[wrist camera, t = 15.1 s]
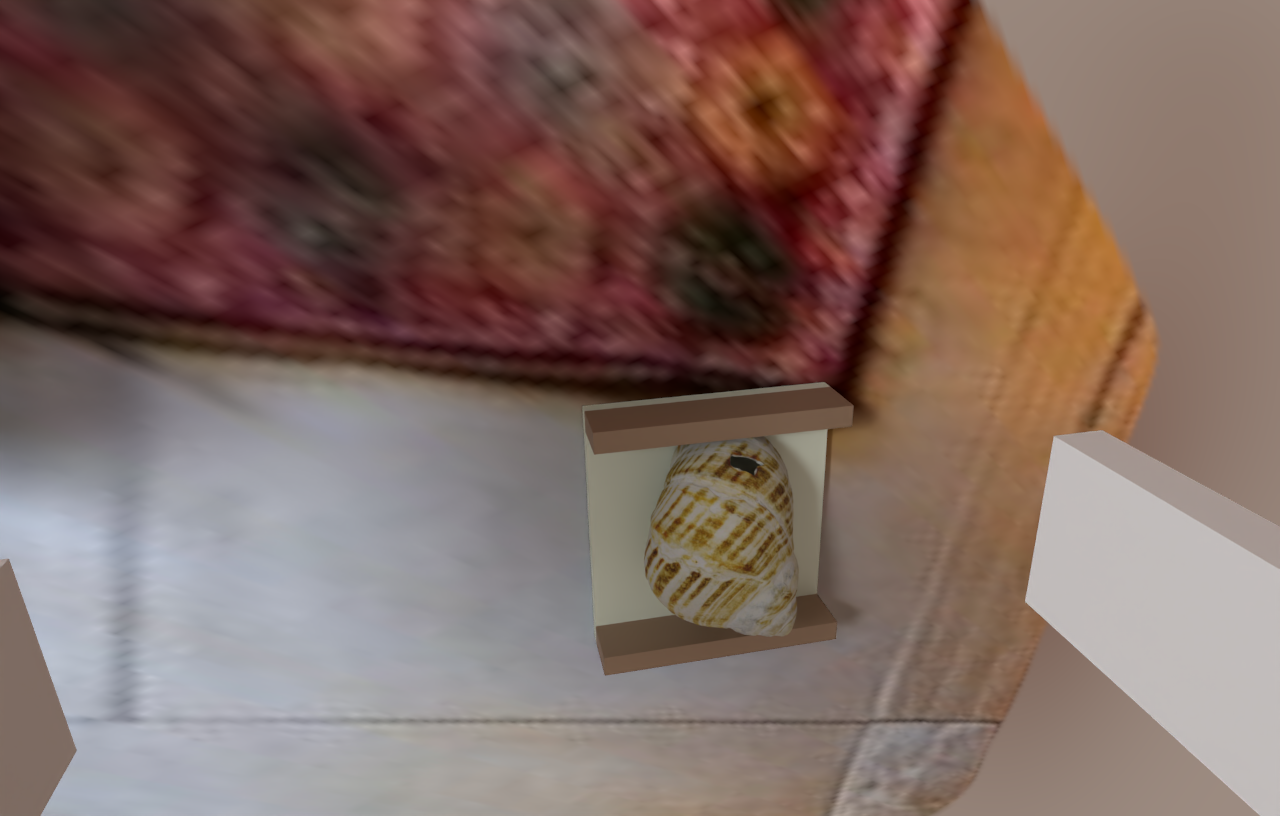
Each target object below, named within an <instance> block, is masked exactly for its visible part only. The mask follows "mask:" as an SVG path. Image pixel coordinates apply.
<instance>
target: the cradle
mask: <svg viewBox="0 0 1280 816" xmlns="http://www.w3.org/2000/svg"><path fill="white" fill-rule="evenodd" d="M853 407H854V406H853V405H852V404H851V403H850V402H849V401H847V400H846V399H845V398H844V397H842V396H841V395H840V394H839V393H837V392H836V391H835V390H834V389H832V388H831V387H830V386H829V385H828V384H826V383H825V382H820V383H810V384H799V385H789V386H779V387H769V388H759V389H749V390H739V391H728V392H718V393H708V394H698V395H688V396H678V397H668V398H657V399H647V400H637V401H627V402H617V403H607V404H597V405H586V406H582V411H583V430H584V449H585V467H586V486H587V505H588V523H589V542H590V561H591V579H592V598H593V617H594V635H595V639H596V643H597V647H598V651H599V654H600V658H601V662H602V666H603V670H604V674H605V675H611V674H618V673H624V672H630V671H637V670H643V669H649V668H656V667H662V666H668V665H674V664H681V663H687V662H693V661H700V660H706V659H712V658H719V657H725V656H731V655H737V654H744V653H750V652H756V651H763V650H769V649H775V648H782V647H788V646H794V645H800V644H807V643H813V642H819V641H826V640H832V639H836V630H837V621H836V620H835V618H834V617H833V616H832V614H831V613H830V611H829V610H828V609H827V607H826V606H825V604H824V603H823V602H822V600H821V599H820V597H819V596H818V595H817V585H818V570H819V554H820V539H821V523H822V508H823V492H824V477H825V461H826V445H827V430H828V429H833V428H842V427H851V426H852V420H853ZM760 436H764V437H766V438H767V439H768V440H769V441H770V442H771V444H772V445H773V446H774V448H775V449H776V450H777V452H778V453H779V454H780V456H781V458H782V460H783V462H784V464H785V466H786V469H787V472H788V478H789V482H790V485H791V488H792V493H793V514H794V515H793V543H794V551H793V552H794V554H795V556H796V559H797V562H798V567H799V579H798V587H797V592H796V603H797V615H796V619H795V623H794V626H793V628H792V630H791V632H790V633H789V634H788V635H785V636H782V637H781V636H771V637H766V636H762V635H756V636H750V635H743V634H741V633H738V632H736V631H734V630H733V629H731V628H727V629H725V628H717V627H707V626H701V625H697V624H694V623H691V622H688V621H686V620H683V619H681V618H679V617H678V616H676V615H675V614H673V613H671V612H670V611H669V610H668V609H667V608H666V607H665V606H664V605H663V604H662V603H661V602H660V601H659V600H658V598H657V597H656V596H655V594H654V593H653V591H652V590H651V587H650V585H649V582H648V580H647V579H646V576H645V565H644V556H645V549H646V543H647V540H648V535H649V529H650V524H651V515H652V513H653V511H654V510H655V508H656V505H657V502H658V499H659V497H660V495H661V493H662V490H663V489H664V484H665V480H666V477H667V474H668V472H669V471H670V464H671V460H672V457H673V454H674V451H675V450H676V448H677V447H678V445H687V444H696V443H705V442H715V441H724V440H733V439H742V438H751V437H760ZM730 465H731V466H732V467H734V468H739V469H741V470H742V471H746V472H748V473H750V474H752V475H754V471H755V470H756V468H757V466H760V464H758V463H757V462H756V461H754V460H752V459H749V458H745V457H735V456H731V459H730Z"/></svg>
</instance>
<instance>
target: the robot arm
mask: <svg viewBox="0 0 1280 816" xmlns="http://www.w3.org/2000/svg"><path fill="white" fill-rule="evenodd" d="M1025 602H1026V603H1027V604H1028V605H1029V606H1030V607H1032V608H1033V609H1034V610H1035V611H1036V612H1037V613H1038V614H1039V615H1040V616H1041V617H1042V618H1044V619H1045V620H1046V621H1047V622H1048V623H1049V624H1050V625H1051V626H1052V627H1053V628H1055V629H1056V630H1057V631H1058V632H1059V633H1060V634H1061V635H1062V636H1063V637H1065V638H1066V639H1067V640H1068V641H1069V642H1070V643H1071V644H1072V645H1073V646H1074V647H1075V648H1077V649H1078V650H1079V651H1080V652H1081V653H1082V654H1083V655H1084V656H1086V658H1088V659H1089V660H1090V661H1091V662H1092V663H1093V664H1094V665H1095V666H1097V668H1098V669H1100V670H1101V671H1102V672H1103V673H1104V674H1105V675H1106V676H1107V677H1108V678H1110V679H1111V680H1112V681H1113V682H1114V683H1115V684H1116V685H1117V686H1118V687H1119V688H1120V689H1122V690H1123V691H1124V692H1125V693H1126V694H1127V695H1128V696H1129V697H1130V698H1131V699H1133V700H1134V701H1135V702H1136V703H1137V704H1138V705H1139V706H1140V707H1141V708H1142V709H1144V710H1145V711H1146V712H1147V713H1148V714H1149V715H1150V716H1151V717H1152V718H1153V719H1155V720H1156V721H1157V722H1158V723H1159V724H1160V725H1161V726H1162V727H1163V728H1164V729H1166V730H1167V731H1168V732H1169V733H1170V734H1171V735H1172V736H1174V738H1175V739H1176V740H1178V741H1179V742H1180V743H1181V744H1182V745H1183V746H1184V747H1185V748H1186V749H1187V750H1189V751H1190V752H1191V753H1192V754H1193V755H1194V756H1195V757H1196V758H1197V759H1199V760H1200V761H1201V762H1202V763H1203V764H1204V765H1205V766H1206V767H1207V768H1208V769H1210V770H1211V771H1212V772H1213V773H1214V774H1215V775H1216V776H1217V777H1218V778H1219V779H1220V780H1222V781H1223V782H1224V783H1225V784H1226V785H1227V786H1228V787H1229V788H1230V789H1231V790H1232V791H1234V792H1235V793H1236V794H1237V795H1238V796H1239V797H1240V798H1241V799H1242V800H1243V801H1245V802H1246V803H1247V804H1248V805H1249V806H1250V807H1251V808H1252V809H1253V810H1255V811H1256V812H1257V813H1258V814H1259V815H1260V816H1280V526H1278V525H1277V524H1275V523H1273V522H1271V521H1269V520H1267V519H1265V518H1263V517H1261V516H1260V515H1258V514H1256V513H1254V512H1252V511H1250V510H1249V509H1247V508H1245V507H1243V506H1241V505H1239V504H1238V503H1236V502H1234V501H1232V500H1230V499H1228V498H1226V497H1225V496H1223V495H1221V494H1219V493H1217V492H1215V491H1213V490H1212V489H1210V488H1208V487H1206V486H1204V485H1202V484H1201V483H1199V482H1197V481H1195V480H1193V479H1191V478H1189V477H1187V476H1186V475H1184V474H1182V473H1180V472H1178V471H1176V470H1175V469H1173V468H1171V467H1169V466H1167V465H1165V464H1163V463H1162V462H1160V461H1158V460H1156V459H1154V458H1152V457H1150V456H1149V455H1147V454H1145V453H1143V452H1141V451H1139V450H1137V449H1136V448H1134V447H1132V446H1130V445H1128V444H1126V443H1125V442H1123V441H1121V440H1119V439H1117V438H1115V437H1113V436H1112V435H1110V434H1108V433H1106V432H1104V431H1102V430H1101V431H1092V432H1084V433H1075V434H1067V435H1058V436H1054V439H1053V445H1052V450H1051V456H1050V462H1049V468H1048V473H1047V479H1046V485H1045V491H1044V496H1043V502H1042V508H1041V514H1040V519H1039V525H1038V531H1037V536H1036V542H1035V548H1034V554H1033V559H1032V565H1031V571H1030V577H1029V582H1028V588H1027V594H1026V600H1025ZM76 751H77V750H76V747H75V744H74V742H73V739H72V736H71V733H70V730H69V727H68V725H67V722H66V719H65V716H64V713H63V711H62V708H61V705H60V702H59V699H58V696H57V694H56V691H55V688H54V685H53V682H52V679H51V677H50V674H49V671H48V668H47V665H46V662H45V660H44V657H43V654H42V651H41V648H40V645H39V643H38V640H37V637H36V634H35V631H34V628H33V626H32V623H31V620H30V617H29V614H28V612H27V609H26V606H25V603H24V600H23V597H22V595H21V592H20V589H19V586H18V583H17V580H16V578H15V575H14V572H13V569H12V566H11V563H10V561H9V559H2V560H0V816H40V815H41V813H42V812H43V810H44V808H45V806H46V805H47V803H48V801H49V799H50V797H51V796H52V794H53V792H54V790H55V788H56V787H57V785H58V783H59V781H60V779H61V778H62V776H63V774H64V772H65V771H66V769H67V767H68V765H69V763H70V762H71V760H72V758H73V756H74V754H75V753H76Z"/></svg>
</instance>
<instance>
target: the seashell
mask: <svg viewBox="0 0 1280 816" xmlns="http://www.w3.org/2000/svg"><path fill="white" fill-rule="evenodd" d="M731 456H735V457H745V458H749V459H752V460H754V461H756V462H757V463H758V464H760V466H757V468H756V470H755V471H754V475H752V474H750V473H748V472H746V471H742V470H741V469H739V468H734V467H732V466H731V465H730V459H731ZM793 515H794V514H793V493H792V488H791V485H790V482H789V478H788V472H787V469H786V466H785V464H784V462H783V460H782V458H781V456H780V454H779V453H778V452H777V450H776V449H775V448H774V446H773V445H772V444H771V442H770V441H769V440H768V439H767V438H766V437H764V436H760V437H751V438H742V439H733V440H724V441H715V442H705V443H696V444H687V445H678V447H677V448H676V450H675V451H674V454H673V457H672V460H671V464H670V471H669V472H668V474H667V477H666V480H665V484H664V489H663V490H662V493H661V495H660V497H659V499H658V502H657V505H656V508H655V510H654V511H653V513H652V515H651V524H650V529H649V535H648V540H647V543H646V549H645V556H644V565H645V576H646V579H647V580H648V582H649V585H650V587H651V590H652V591H653V593H654V594H655V596H656V597H657V598H658V600H659V601H660V602H661V603H662V604H663V605H664V606H665V607H666V608H667V609H668V610H669V611H670V612H671V613H673V614H675V615H676V616H678V617H679V618H681V619H683V620H686V621H688V622H691V623H694V624H697V625H701V626H707V627H717V628H725V629H727V628H731V629H733V630H734V631H736V632H738V633H741V634H743V635H750V636H756V635H762V636H766V637H771V636H781V637H782V636H785V635H788V634H789V633H790V632H791V630H792V628H793V626H794V623H795V619H796V615H797V603H796V592H797V587H798V579H799V567H798V562H797V559H796V556H795V554H794V552H793V551H794V543H793Z"/></svg>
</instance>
